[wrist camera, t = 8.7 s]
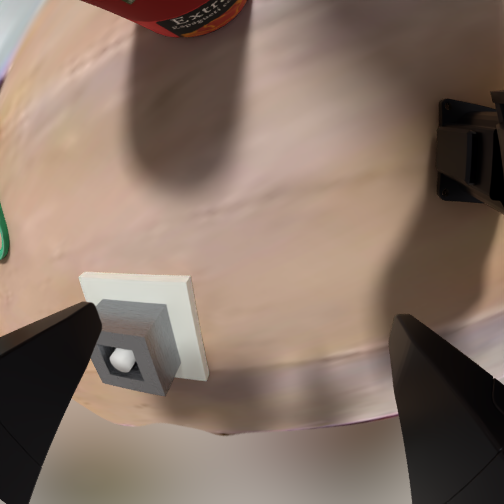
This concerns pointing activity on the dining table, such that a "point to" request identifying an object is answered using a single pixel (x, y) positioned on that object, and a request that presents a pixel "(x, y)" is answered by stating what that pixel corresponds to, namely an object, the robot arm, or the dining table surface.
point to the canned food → (175, 14)
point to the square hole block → (137, 345)
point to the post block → (161, 292)
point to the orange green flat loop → (3, 235)
